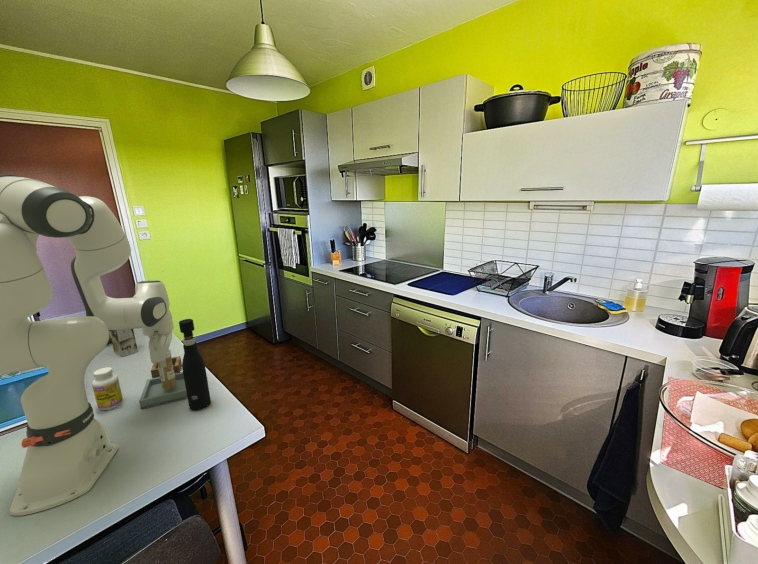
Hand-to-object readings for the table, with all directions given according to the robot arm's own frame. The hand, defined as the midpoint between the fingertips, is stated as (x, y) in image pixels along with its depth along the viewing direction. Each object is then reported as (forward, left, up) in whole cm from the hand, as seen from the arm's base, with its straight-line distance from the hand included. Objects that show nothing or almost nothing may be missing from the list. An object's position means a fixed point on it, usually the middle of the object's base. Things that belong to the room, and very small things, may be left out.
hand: (165, 362), depth 113 cm
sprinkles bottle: (0, 0, -9) cm, 9 cm away
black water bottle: (-14, -10, -12) cm, 21 cm away
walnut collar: (+16, +3, -11) cm, 20 cm away
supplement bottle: (0, +17, -12) cm, 21 cm away
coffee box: (+47, +22, -12) cm, 53 cm away
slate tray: (0, 0, -11) cm, 11 cm away
